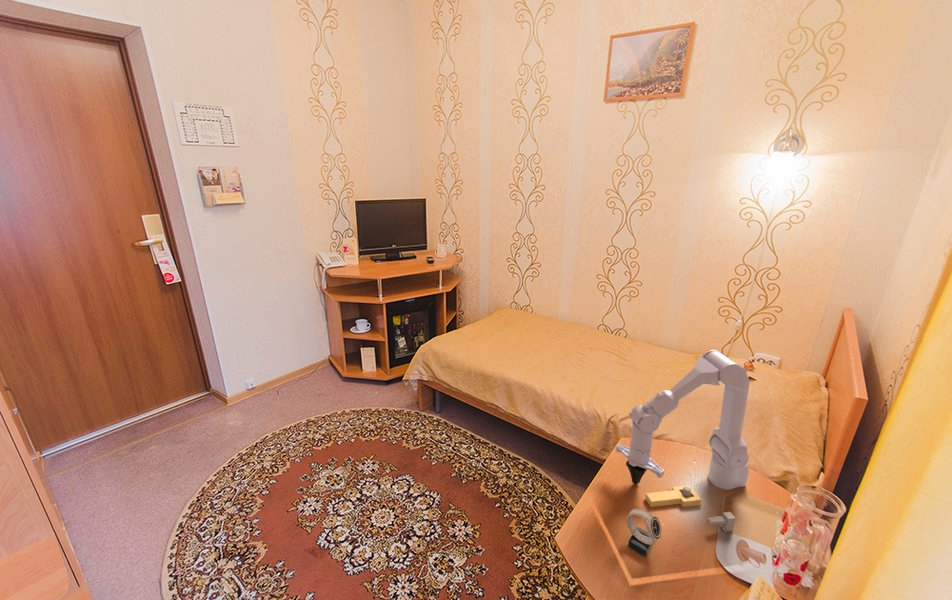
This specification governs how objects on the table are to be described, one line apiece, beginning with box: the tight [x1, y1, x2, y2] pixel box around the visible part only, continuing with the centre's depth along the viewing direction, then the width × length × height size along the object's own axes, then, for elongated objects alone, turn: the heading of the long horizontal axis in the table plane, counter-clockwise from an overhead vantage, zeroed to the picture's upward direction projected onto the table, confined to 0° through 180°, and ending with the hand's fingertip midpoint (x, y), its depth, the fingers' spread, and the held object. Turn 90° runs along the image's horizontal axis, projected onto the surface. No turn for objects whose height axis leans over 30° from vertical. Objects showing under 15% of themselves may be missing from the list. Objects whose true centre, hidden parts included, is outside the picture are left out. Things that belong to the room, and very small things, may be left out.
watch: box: [626, 507, 662, 557], centre depth 97 cm, size 6×8×11 cm
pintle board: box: [682, 487, 736, 533], centre depth 108 cm, size 20×17×6 cm
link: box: [644, 484, 702, 508], centre depth 111 cm, size 14×5×2 cm, turn 96°
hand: (636, 482), depth 117 cm, fingers closed
